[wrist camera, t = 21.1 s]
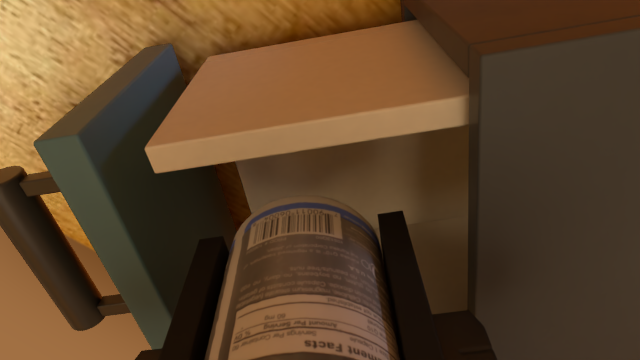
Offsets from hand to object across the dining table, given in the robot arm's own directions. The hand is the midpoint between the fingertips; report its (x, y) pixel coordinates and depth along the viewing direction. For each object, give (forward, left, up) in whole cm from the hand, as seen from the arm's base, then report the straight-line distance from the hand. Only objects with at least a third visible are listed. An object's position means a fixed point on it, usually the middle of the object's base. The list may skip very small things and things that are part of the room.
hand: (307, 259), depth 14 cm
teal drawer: (0, +1, -7) cm, 7 cm away
